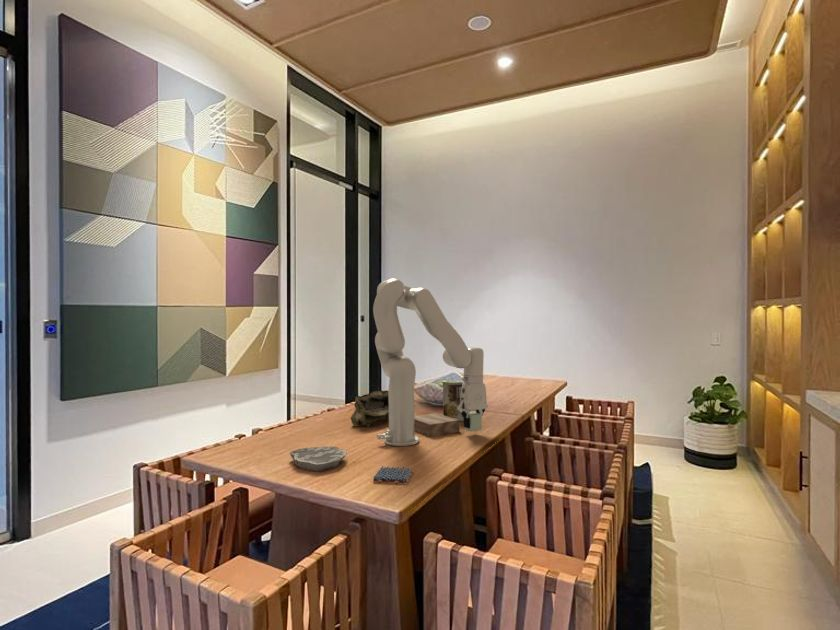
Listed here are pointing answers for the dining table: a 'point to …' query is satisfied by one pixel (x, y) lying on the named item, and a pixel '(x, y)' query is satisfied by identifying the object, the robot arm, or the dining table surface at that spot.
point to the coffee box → (452, 399)
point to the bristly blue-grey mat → (393, 475)
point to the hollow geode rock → (370, 408)
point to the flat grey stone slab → (318, 457)
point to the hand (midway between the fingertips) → (472, 426)
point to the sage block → (475, 421)
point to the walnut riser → (435, 424)
